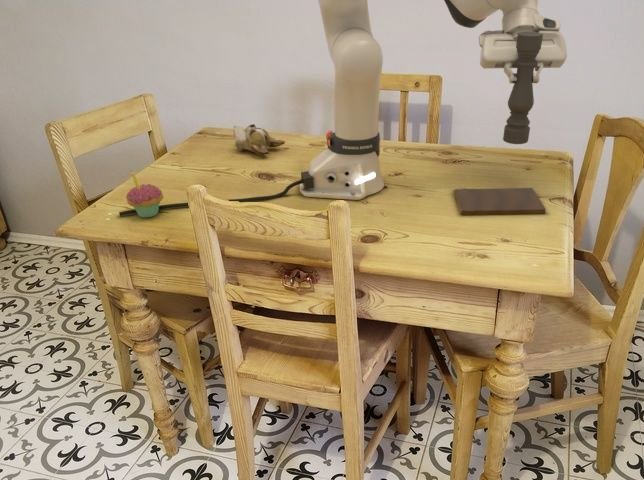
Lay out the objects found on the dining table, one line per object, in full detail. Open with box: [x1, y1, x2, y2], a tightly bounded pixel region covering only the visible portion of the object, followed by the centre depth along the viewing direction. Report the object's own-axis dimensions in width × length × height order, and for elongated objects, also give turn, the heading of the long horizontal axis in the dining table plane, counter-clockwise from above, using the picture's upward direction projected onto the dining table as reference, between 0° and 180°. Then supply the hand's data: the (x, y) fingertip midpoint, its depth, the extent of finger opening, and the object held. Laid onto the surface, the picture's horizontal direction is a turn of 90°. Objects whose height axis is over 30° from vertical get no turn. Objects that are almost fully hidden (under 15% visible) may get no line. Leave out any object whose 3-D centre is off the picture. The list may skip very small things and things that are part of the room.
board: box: [453, 187, 546, 216], centre depth 150 cm, size 20×13×1 cm, turn 89°
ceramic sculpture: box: [233, 124, 286, 156], centre depth 183 cm, size 11×9×15 cm
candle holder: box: [502, 32, 543, 145], centre depth 146 cm, size 6×6×25 cm
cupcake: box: [126, 169, 164, 218], centre depth 146 cm, size 9×8×12 cm
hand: (524, 82), depth 144 cm, fingers closed on candle holder, 4 cm apart
